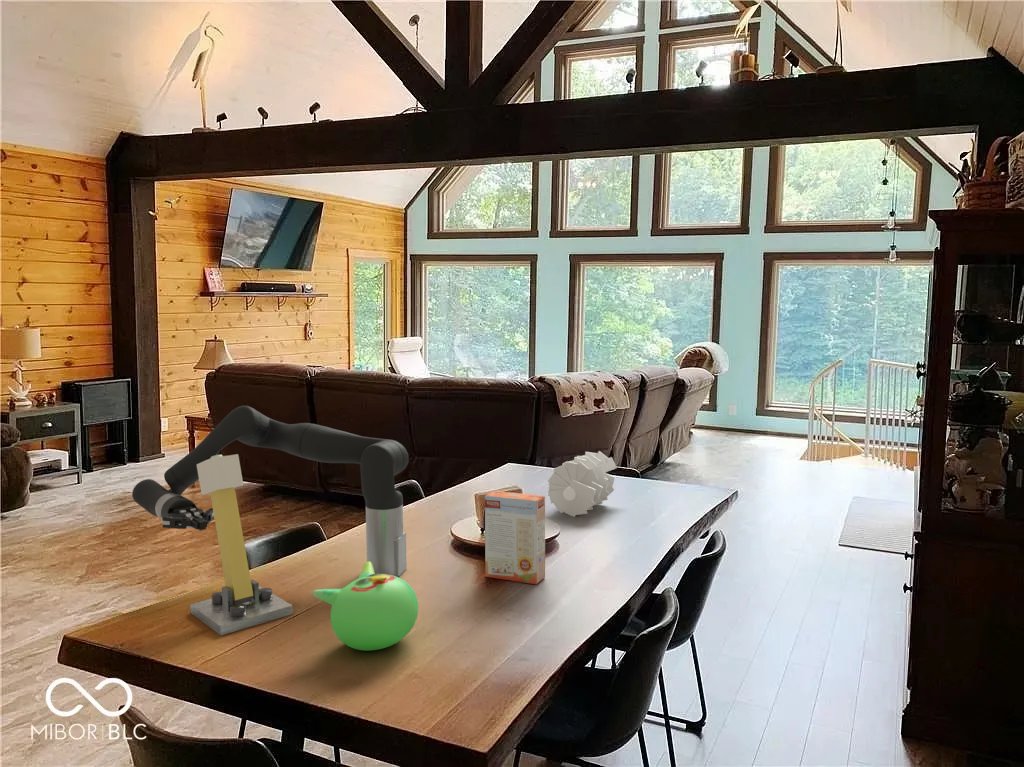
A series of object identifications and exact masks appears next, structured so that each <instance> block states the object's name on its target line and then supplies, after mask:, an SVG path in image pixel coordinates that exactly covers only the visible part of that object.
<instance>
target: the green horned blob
mask: <svg viewBox="0 0 1024 767" xmlns="http://www.w3.org/2000/svg"><path fill="white" fill-rule="evenodd" d="M312 595H313V596H314V598H317V599H319V600H321V601H323V602H325V603H327V604H329V605H330V606H331V609H330V615H329V616H330V624H331V627H332V631H333V632H334V634H335V636H336V637H337V638H338V639H339V641H341V642H342V643H343V644H344V645H346V646H347V647H350V648H351V649H353V650H356V651H357V650H359V651H368V652H369V651H378V650H382V649H387V648H388V647H391V646H393V645H395V644H397V643H398V642H401V641H402V640H403V639H404V638H405V637H407V635H408V634H409V633H410V632H411V631H412V629H413V628H414V625H415V624H416V622H417V618H418V614H419V602H418V597H417V595H416V593H415V590H414V589H413V587H412V586H411V585H410V584H409V583H408V582H407V581H406V580H404V579H402V578H400V576H393V575H388V574H375V573H374V569H373V566H372V563H371V562H370V561H368V562H367V561H366V562H365V563H364V565H363V567H362V569H361V572H360V574H359V576H358V578H357V579H355V580H353V581H351V582H350V583H348V584H347V585H346V586H344V587H343V588H321V589H314V590H313V591H312Z"/></svg>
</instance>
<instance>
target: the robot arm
mask: <svg viewBox="0 0 1024 767" xmlns="http://www.w3.org/2000/svg"><path fill="white" fill-rule="evenodd" d="M234 441H238V442H241V443H242V444H243V445H244V444H245V445H246V446H250V447H256V448H264V449H273V450H277V451H282V452H285V453H287V454H290V455H293V456H296V457H299V458H302V459H306V460H310V461H314V462H319V463H328V464H358V465H360V466H359V467H360V468H359V469H360V482H361V483H360V485H361V492H362V496H363V498H364V501H365V537H366V538H365V539H366V544H365V545H366V562H368V561H370V562H371V563H372V566H373V569H374V573H375V574H388V575H393V576H396V577H400V576H401V575H402V574H403V573H404V572H405V571H406V570H407V566H408V564H407V532H406V531H404V504H403V503H404V500H403V499H404V498H403V494H402V492H401V491H400V490H396V487H395V476H396V475H399V474H400V473H401V472H403V471H404V470H405V469H406V467H407V466H408V464H409V457H410V456H409V453H408V450H407V449H406V447H405V446H404V445H403V444H402V443H400V442H398V441H397V440H394V439H387V438H386V439H385V438H378V437H369V436H361V435H359V434H355V433H350V432H347V431H343V430H339V429H336V428H332V427H328V426H326V425H325V426H324V425H320V424H316V423H310V422H299V423H293V424H292V423H291V424H289V423H285V422H281V421H278V420H275V419H272V418H270V417H268V416H266V415H264V414H263V413H261V412H260V411H258V410H256V409H255V408H253V407H251V406H249V405H240V406H237V407H236V408H234V409H232V410H231V411H230V412H229V413H228V414H227V415H226V416H225V417H224V418H223V419H222V420H221V421H220V422H219V423H218V424H217V425H216V426H215V427H214V428H213V429H212V430H211V432H209V434H207V435H206V437H204V439H203V440H202V441H201V442H200V443H199V444H197V446H196V447H194V449H192V450H191V451H190V452H189V453H187V454H186V455H185V456H184V457H182V458H181V459H180V460H178V461H177V462H176V463H175V464H174V465H172V466H171V467H169V468H168V469H167V470H165V472H164V473H163V474H164V475H163V477H164V480H165V483H166V484H167V485H168V487H169V488H170V489H167V488H166V487H164V486H163V485H161V484H160V483H159V482H158V481H156V480H154V479H151V478H147V479H143V480H140V481H139V482H137V483H136V485H135V486H134V487H133V489H132V494H131V495H132V496H131V497H132V499H133V501H134V502H135V503H136V504H138V505H139V506H140V507H141V508H143V509H144V510H145V511H147V512H148V513H149V514H151V515H152V516H155V517H157V518H159V519H160V521H162V528H164V529H177V530H182V529H183V530H185V529H188V528H190V529H195V530H197V531H199V532H200V531H204V530H207V528H208V525H209V524H210V523H211V522H212V521H213V520H215V518H214V512H213V507H210V508H208V509H206V510H204V509H202V508H198V506H197V505H196V504H195V503H194V501H193V500H190V499H189V498H186V497H185V496H183V495H182V494H183V493H184V492H185V491H186V490H187V489H188V488H190V487H191V486H192V485H193V484H195V483H196V482H198V481H199V476H198V470H197V464H199V463H201V462H203V461H206V460H208V459H210V458H211V457H212V456H216V455H219V453H220V452H221V451H222V450H223V449H224V448H225V447H226V446H228V445H230V444H231V443H233V442H234Z"/></svg>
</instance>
